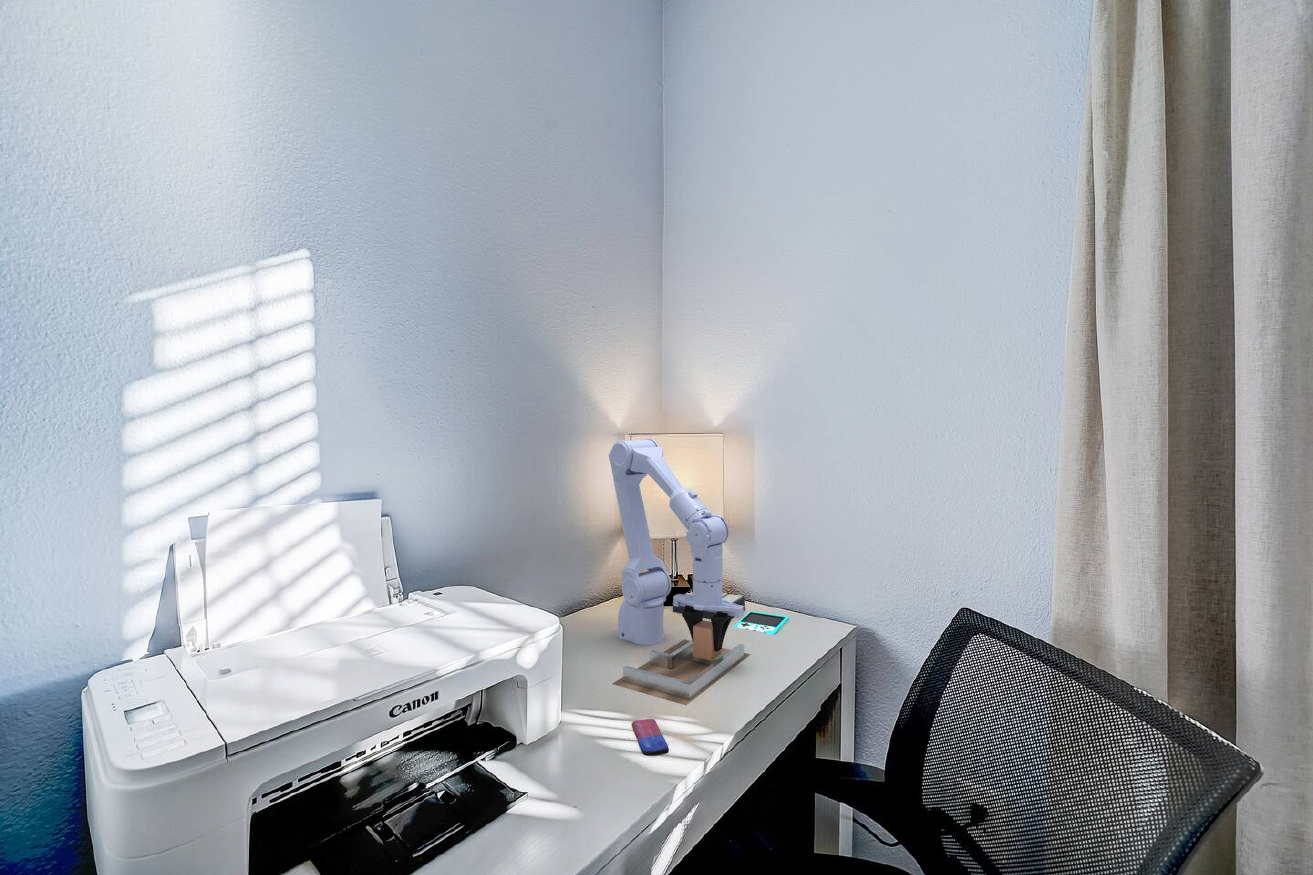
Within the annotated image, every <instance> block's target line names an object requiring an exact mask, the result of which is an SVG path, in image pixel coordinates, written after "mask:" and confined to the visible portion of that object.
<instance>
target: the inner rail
mask: <svg viewBox="0 0 1313 875" xmlns="http://www.w3.org/2000/svg"><path fill="white" fill-rule="evenodd" d="M689 641H690V642H689V643H687V644H685V645H684V646H682V647H681V648H679V649H677V650H676V651H674V652H673V653H671V654H668V653H664V651H659V650H656V649H652V650H650V651H649V661H650V664H651V665H655V666H659V667H663V668H667V669H671V670H672V669H674V668H675V667H677V666H678V665H680V664H681V663H683V662H684V661H686V660H687V659H689V658H690V657H692V656H693V641H692V640H689Z"/></svg>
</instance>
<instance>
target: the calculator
mask: <svg viewBox="0 0 1313 875" xmlns="http://www.w3.org/2000/svg"><path fill="white" fill-rule="evenodd" d="M684 595H692V596H693V593H688V592H686V593H684ZM722 600H725V601H728V602H731V603H734V604H737V605H741V606H744V612H745V611H746V601H745V600H746V599H745V597H744V596H743V595H739V594H728V593H727V592H722ZM684 609H685V607H683V606H678V607H677V606H673V605H672V612H673V613H677V614H681V615H682V612H683V611H684ZM714 615H716V613H714V612H709V611H704V614H703V619H704V618H706V619H710V620H711V617H713V616H714ZM733 619H735V617H734V616H733V618H732V620H733Z"/></svg>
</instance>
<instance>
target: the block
mask: <svg viewBox="0 0 1313 875" xmlns="http://www.w3.org/2000/svg"><path fill="white" fill-rule="evenodd" d="M720 654H721V650H719V651H718V652H716V651H714V634H713V627H712V622H711V620H710V621H709V620H704V619H703V620H702V621H701V622H699V623H698V624H696V625H694V626H693V656H694V657H698V658H702V659H707V660H711V661H712V660H713V659H715V658H716V657H717V656H719V655H720Z"/></svg>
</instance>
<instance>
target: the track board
mask: <svg viewBox="0 0 1313 875" xmlns="http://www.w3.org/2000/svg"><path fill="white" fill-rule="evenodd" d="M690 641H691V640H689V639H685V638H684V639H683V640H681V641H679V642H678V643H676V644H674V645H673V646H671V647H669V648H668V649H666V650H665V651H663V652H664V653H668V654H671V653H673V652H674V651H676V650H677V649H679V648H681V647H682V646H684V645H685V644H687V643H689V642H690ZM730 650H731V649H729V648H725V647H722V649H721V654H720V655H719V656H717V657H716V658H715V659H713V660H712V661H711V660H707V659H702V658H698V657H694V656H692V657H690V658H689V659H687V660H686V661H684V662H683V663H681V664H680V665H678V666H677V667H675V668H674V669H672V670H671V669H667V668H663V667H659V666H655V665H651V664H650V660H648V661H647V662H645V663H643V664H642V665H640V666H639V667H636V668H637V669H641V670H645V671H648V672H652V673H656V674H660V675H663V676H667V677H671V678H675V679H679V680H682V681H686V682H688V681H689V680H691V679H692V678H693V677H695V676H696V675H698V674H699V673H700V672H702V671H703V670H704V669H706V668H707V667H708V666H710V665H711V664H713V663H714V662H715V661H717V660H718V659H719V658H721V657H722V656H724V655H725V654H726V653H728V652H729V651H730ZM751 655H752V654H751V653H746V652H744V658H742V659H741V660H740V661H738V662H737V663H736V664H735V665H733V666H732V667H731V668H729V669H728V670H727V671H726V672H724V673H723V674H722V675H721V676H719V677H718V678H717V679H715V680H714V681H713V682H712V683H710V684H709V685H708V686H707V687H705V688H704V689H703V690H701V691H700V692H699V693H698V694H696V695H695V696H694V697H692V698H691V699H690V700H689V699H685V698H682V697H678V696H675V695H671V694H668V693H664V692H661V691H657V690H653V689H650V688H646V687H643V686H639V685H636V684H632V683H629V682H625V681H623V676H622V677H621V678H619V679H617V680H616V681H614V682H612V683H611V684H612V685H615V686H618V687H620V688H625V689H628V690H632V691H635V692H639V693H642V694H645V695H649V696H653V697H656V698H660V699H662V700H663V699H664V700H665V701H666V700H667V701H670V702H674V703H677V704H681V705H683V706H688V705H689V704H690V703H691V702H693V701H694V700H695V699H696V698H698V697H699V696H700V695H702V694H703V693H704V692H705V691H707V690H708V689H709V688H710V687H711V686H713V685H714V684H716V683H717V682H718V681H719V680H720V679H722V678H723V677H724V676H725V675H727V674H728V673H730V671H731V670H733V669H734V668H735V667H737V666H739V664H741V663H742V662H743V661H744V660H746V658H749V656H751Z"/></svg>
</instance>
